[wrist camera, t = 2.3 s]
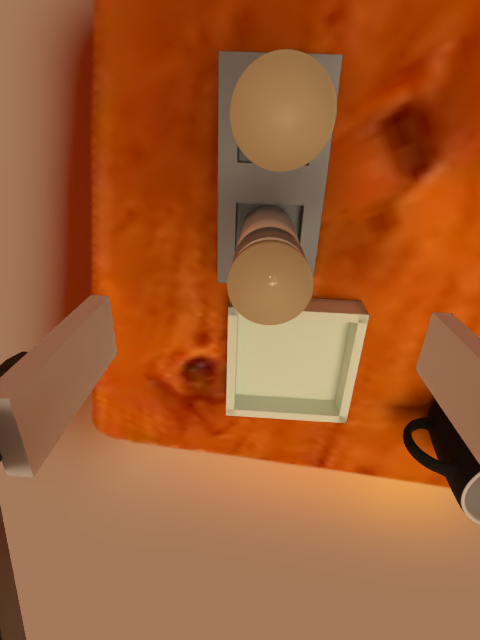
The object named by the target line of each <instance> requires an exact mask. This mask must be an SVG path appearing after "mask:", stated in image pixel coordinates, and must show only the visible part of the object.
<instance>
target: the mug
mask: <svg viewBox="0 0 480 640" xmlns="http://www.w3.org/2000/svg"><path fill="white" fill-rule="evenodd" d="M421 428H422V429H426V430H428V431H429V434H430V437H431V441H432V444H433V447H434V450H435V452H436V455H437V458H438V460H437V459H434V458H432V457H431V456H429V455H428V454H426V453H425V452H423V451H422V450H421V449H420V448H419V447H418V446H417V445H416V444H415V442H414V440H413V438H412V435H411V433H412V432H413V431H414V430H416V429H421ZM403 440H404V444H405V446H406V448H407V450H408V451H409V453H410V454H411V455H412V456H413V457H414V458H415V459H416V460H417V461H418V462H419V463H421V464H422V465H423V466H425V467H427V468H428V469H430V470H432V471H434V472H436V473H439V474H441V475H443V476H445V477H446V479H447V481H448V483H449V486H450V488H451V490H452V492H453V494H454V496H455V497H456V499H457V502H458V503H459V505H460V507H461V508H462V510H463V512H464V513H465V514H466V516H468V517H469V518H470V519H471V520H472V521H474V522H475V523H477V524H480V464H479V463H478V461H477V460H476V458H475V457H474V455H473V454H472V452H471V451H470V449H469V448H468V447H467V445H466V444H465V442H464V441H463V439H462V438H461V436H460V435H459V433H458V432H457V430H456V429H455V427H454V426H453V424H452V423H451V421H450V420H449V419H448V417H447V416H446V414H445V413H444V411H443V410H442V408H441V407H440V405H439V404H438V402H437V401H435V402H434V403H433V404H432V406H431V408H430V410H429V413H428V417H425V418H419V419H415V420H413V421H411V422H410V423H409V424H407V426H406V427H405V429H404V433H403Z"/></svg>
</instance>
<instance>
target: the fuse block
mask: <svg viewBox="0 0 480 640" xmlns="http://www.w3.org/2000/svg"><path fill="white" fill-rule="evenodd" d="M342 58H343V55H338V54H306V53H304V52H301V51H297V50H291V49H281V50H276V51H272V52H269V53H267V52H232V51H219V67H218V256H217V283H227V279H228V275H229V271H230V267H231V265H232V263H233V259H234V255H235V251H236V248H237V245H238V241H239V237H240V233H241V229H242V225H243V222H244V220H245V218H246V216H247V215H248V214H249V213H250V212H251V211H252V210H254V209H255V208H257V207H260V206H264V205H272V206H276V207H279V208H281V209H283V210H284V211H285V212H286V213H287V214H288V215H289V217H290V218H291V220H292V223H293V226H294V228H295V231H296V234H297V237H298V240H299V243H300V245H301V247H302V249H303V252H304V255H305V258H306V260H307V261H308V264H309V266H310V269H311V272H312V275H313V278H314V270H315V263H316V255H317V247H318V240H319V232H320V225H321V217H322V210H323V202H324V194H325V187H326V179H327V172H328V164H329V157H330V149H331V141H332V134H333V129H334V125H335V121H336V115H337V96H338V88H339V81H340V73H341V66H342Z"/></svg>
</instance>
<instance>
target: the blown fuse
mask: <svg viewBox="0 0 480 640" xmlns="http://www.w3.org/2000/svg"><path fill="white" fill-rule="evenodd" d="M313 288H314V281H313V275H312V272H311V269H310V266H309V264H308V261H307V260H306V258H305V255H304V252H303V249H302V247H301V245H300V243H299V240H298V237H297V234H296V231H295V228H294V226H293V223H292V220H291V218H290V217H289V215H288V214H287V213H286V212H285V211H284V210H283V209H281V208H279V207H276V206H272V205H264V206H260V207H257V208H255V209H254V210H252V211H251V212H250V213H249V214H248V215H247V216H246V218H245V220H244V222H243V225H242V229H241V233H240V237H239V241H238V245H237V248H236V251H235V255H234V259H233V263H232V265H231V267H230V271H229V275H228V279H227V291H228V296H229V299H230V301H231V303H232V305H233V307H234V308H235V309H236V311H237V312H238V313H239V314H240V315H242V316H243V317H244V318H246V319H247V320H249V321H251V322H254V323H257V324H261V325H278V324H283V323H286V322H288V321H290V320H292V319H294V318H295V317H297V316H298V315H299V314H301V313H302V312H303V310H304V309H305V308H306V307H307V305H308V304H309V302H310V300H311V297H312V294H313Z"/></svg>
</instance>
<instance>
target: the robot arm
mask: <svg viewBox="0 0 480 640" xmlns="http://www.w3.org/2000/svg"><path fill="white" fill-rule="evenodd" d="M116 354H117V348H116V341H115V334H114V327H113V319H112V312H111V305H110V298H109V296H98V295H91V296H89V297H88V298H87V299H86V300H85V301H84V302H83V303H82V304H81V305H80V306H78V307H77V308H76V309H75V310H74V311H73V312H72V313H71V314H70V315H69V316H67V318H66V319H64V320H63V321H62V322H61V323H60V324H59V325H58V326H56V327H55V328H54V329H53V330H52V331H51V332H50V333H49V334H48V335H47V336H45V337H44V338H43V339H42V340H41V341H40V342H39V343H38V344H37V345H36V346H35V347H33V348H32V349H31V350H30V351H29V352H21V353H19V354H17V355H15V356H13V357H11V358H9V359H7V360H6V361H5V362H3V364H1V365H0V461H1V460H2V463H3V466H4V468H5V471H6V474H7V475H10V476H25V477H34V476H35V474H36V473H37V471H38V470H39V468H40V467H41V465H42V464H43V462H44V461H45V460H46V458H47V457H48V455H49V454H50V452H51V451H52V449H53V448H54V446H55V445H56V443H57V442H58V440H59V439H60V437H61V436H62V434H63V433H64V431H65V430H66V428H67V427H68V425H69V424H70V422H71V421H72V419H73V418H74V416H75V415H76V413H77V412H78V411H79V409H80V408H81V406H82V405H83V403H84V402H85V400H86V399H87V397H88V396H89V394H90V393H91V391H92V390H93V388H94V387H95V385H96V384H97V382H98V381H99V379H100V378H101V377H102V375H103V374H104V372H105V371H106V369H107V368H108V366H109V365H110V363H111V362H112V360H113V359H114V357H115V356H116ZM416 371H417V373H418V374H419V376H420V377H421V379H422V380H423V382H424V383H425V385H426V386H427V388H428V389H429V391H430V392H431V394H432V395H433V396H434V398H435V399H436V401H437V402H438V404H439V405H440V407H441V408H442V410H443V411H444V413H445V414H446V416H447V417H448V419H449V420H450V421H451V423H452V424H453V426H454V427H455V429H456V430H457V432H458V433H459V435H460V436H461V438H462V439H463V441H464V442H465V444H466V445H467V447H468V448H469V449H470V451H471V452H472V454H473V455H474V457H475V458H476V460H477V461H478V463H479V464H480V338H479V337H478V336H476V335H475V334H474V333H473V332H472V331H471V330H470V329H469V328H468V327H466V326H465V325H464V324H463V323H462V322H461V321H460V320H459V319H458V318H456V317H455V316H454V315H453V314H452V313H432V316H431V319H430V323H429V326H428V329H427V333H426V336H425V339H424V343H423V346H422V349H421V353H420V356H419V360H418V363H417V366H416ZM0 640H26V637H25V632H24V626H23V621H22V616H21V611H20V606H19V600H18V595H17V590H16V585H15V580H14V575H13V569H12V564H11V559H10V554H9V549H8V543H7V538H6V533H5V528H4V523H3V517H2V513H1V508H0Z"/></svg>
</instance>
